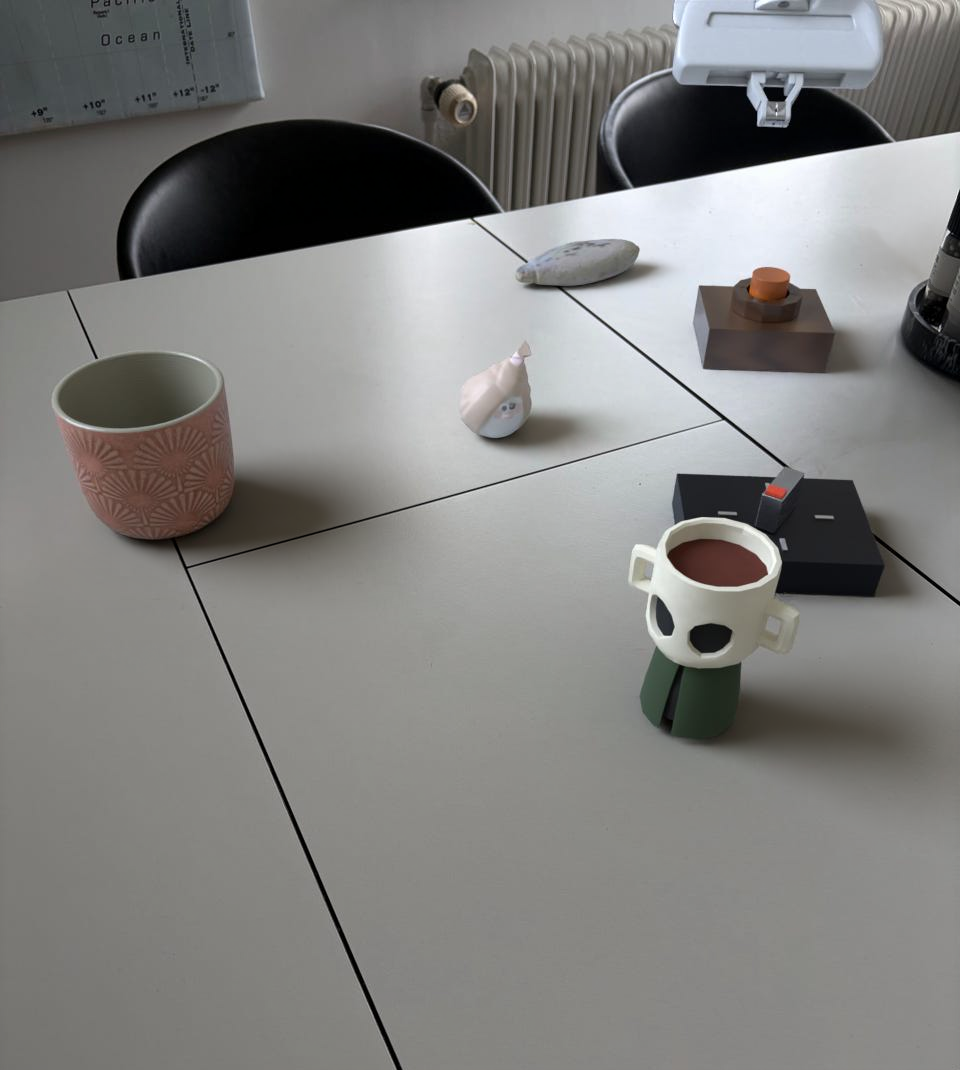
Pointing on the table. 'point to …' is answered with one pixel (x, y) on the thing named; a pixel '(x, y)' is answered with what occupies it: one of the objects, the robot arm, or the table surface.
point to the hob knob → (779, 499)
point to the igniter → (762, 330)
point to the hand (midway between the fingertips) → (773, 124)
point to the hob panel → (796, 530)
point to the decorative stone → (579, 262)
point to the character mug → (707, 619)
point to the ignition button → (769, 283)
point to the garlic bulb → (498, 397)
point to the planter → (149, 440)
